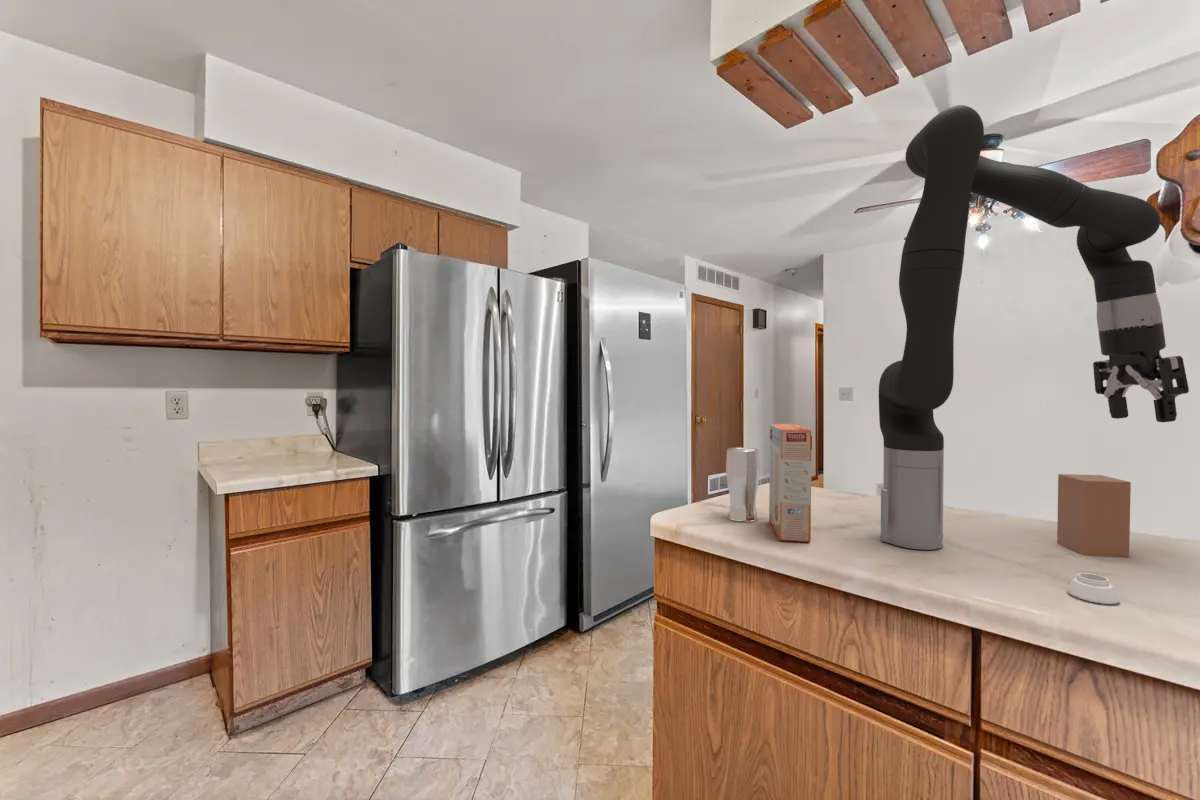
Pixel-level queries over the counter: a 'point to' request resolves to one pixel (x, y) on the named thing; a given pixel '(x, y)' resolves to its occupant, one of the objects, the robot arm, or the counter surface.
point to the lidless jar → (1093, 589)
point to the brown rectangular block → (1094, 514)
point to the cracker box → (790, 482)
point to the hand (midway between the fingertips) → (1142, 419)
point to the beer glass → (742, 482)
